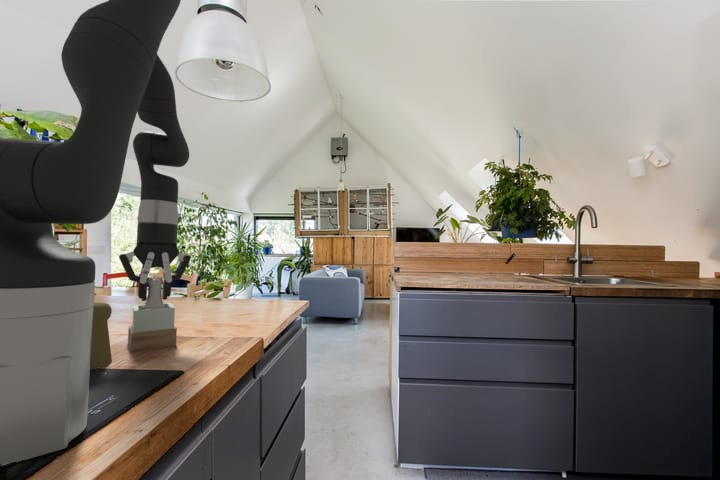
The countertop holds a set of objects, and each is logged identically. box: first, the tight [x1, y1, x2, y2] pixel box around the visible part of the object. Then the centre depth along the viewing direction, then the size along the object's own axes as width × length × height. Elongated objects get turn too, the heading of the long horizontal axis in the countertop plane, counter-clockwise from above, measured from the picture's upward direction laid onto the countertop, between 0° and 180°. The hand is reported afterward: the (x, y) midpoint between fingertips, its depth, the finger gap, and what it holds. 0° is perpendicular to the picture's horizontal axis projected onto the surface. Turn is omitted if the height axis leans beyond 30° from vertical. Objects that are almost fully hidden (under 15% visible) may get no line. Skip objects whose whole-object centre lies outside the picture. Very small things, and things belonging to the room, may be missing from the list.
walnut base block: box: [127, 325, 178, 353], centre depth 68 cm, size 8×8×4 cm
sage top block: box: [131, 302, 176, 333], centre depth 68 cm, size 7×7×4 cm
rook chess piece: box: [142, 276, 165, 310], centre depth 68 cm, size 4×4×8 cm
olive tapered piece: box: [90, 302, 113, 371], centre depth 56 cm, size 6×6×11 cm
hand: (154, 299), depth 68 cm, fingers closed on rook chess piece, 3 cm apart
